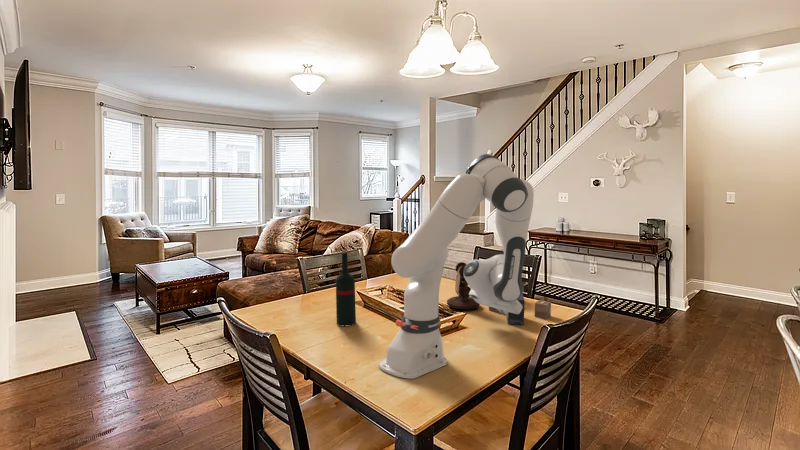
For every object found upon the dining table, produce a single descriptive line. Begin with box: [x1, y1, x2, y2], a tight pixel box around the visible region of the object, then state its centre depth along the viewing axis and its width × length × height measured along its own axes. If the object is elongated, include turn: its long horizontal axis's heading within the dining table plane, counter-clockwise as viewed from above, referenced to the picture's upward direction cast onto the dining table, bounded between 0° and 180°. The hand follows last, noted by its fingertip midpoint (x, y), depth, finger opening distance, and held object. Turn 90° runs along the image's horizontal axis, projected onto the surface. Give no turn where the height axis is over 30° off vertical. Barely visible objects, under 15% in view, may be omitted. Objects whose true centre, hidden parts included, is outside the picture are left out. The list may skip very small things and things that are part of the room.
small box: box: [506, 293, 526, 326], centre depth 169 cm, size 11×6×10 cm, turn 169°
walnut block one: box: [534, 299, 552, 320], centre depth 174 cm, size 5×5×6 cm
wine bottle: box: [335, 249, 357, 327], centre depth 168 cm, size 8×10×30 cm
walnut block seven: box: [488, 306, 501, 313], centre depth 183 cm, size 5×5×6 cm
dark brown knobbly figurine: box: [446, 261, 481, 311], centre depth 187 cm, size 15×15×20 cm
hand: (504, 311), depth 164 cm, fingers closed
